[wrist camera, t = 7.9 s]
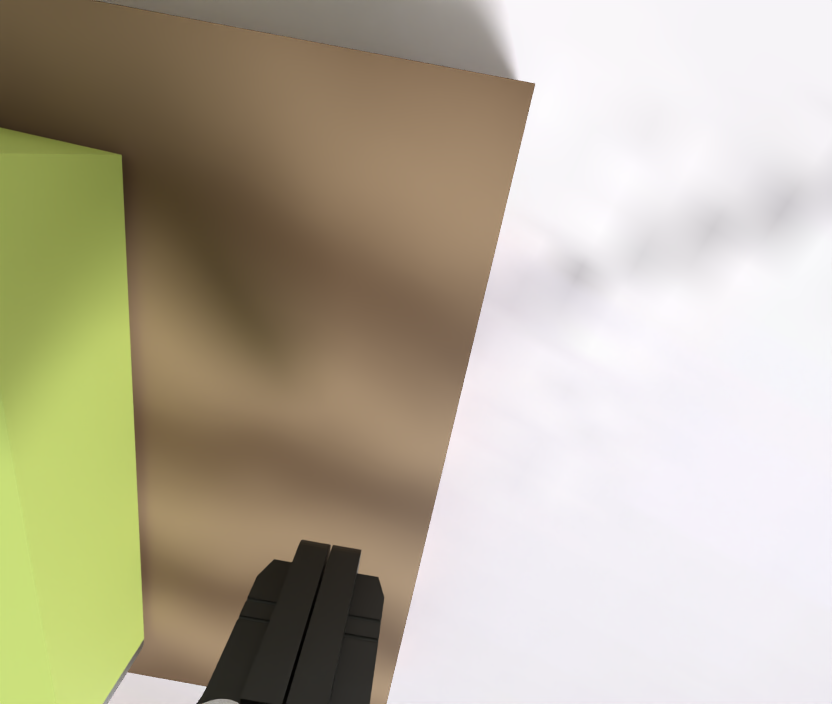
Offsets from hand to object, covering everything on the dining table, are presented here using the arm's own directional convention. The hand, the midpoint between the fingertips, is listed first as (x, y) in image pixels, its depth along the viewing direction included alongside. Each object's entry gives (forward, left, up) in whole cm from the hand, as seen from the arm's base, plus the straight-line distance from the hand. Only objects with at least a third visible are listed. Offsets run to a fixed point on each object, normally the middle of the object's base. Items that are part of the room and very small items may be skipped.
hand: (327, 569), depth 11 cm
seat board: (0, +5, -6) cm, 8 cm away
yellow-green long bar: (-2, +9, -3) cm, 10 cm away
